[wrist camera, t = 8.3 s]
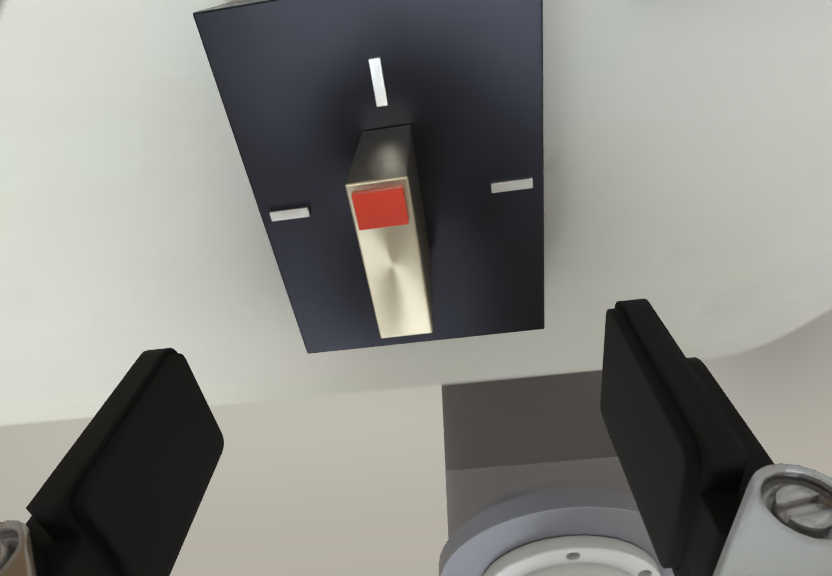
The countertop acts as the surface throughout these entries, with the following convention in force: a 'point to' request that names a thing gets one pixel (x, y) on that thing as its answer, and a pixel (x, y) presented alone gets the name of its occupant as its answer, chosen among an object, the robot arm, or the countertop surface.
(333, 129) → the panel
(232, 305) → the countertop surface
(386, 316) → the knob
